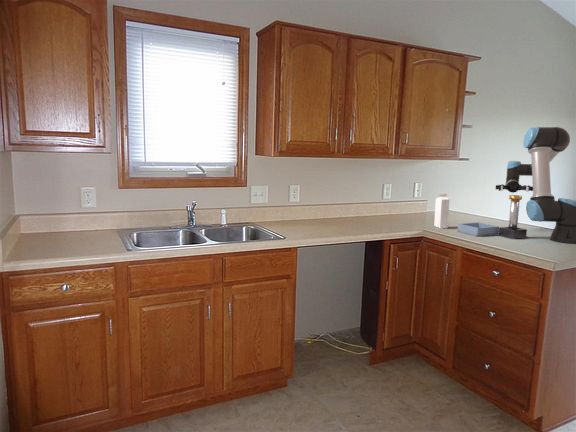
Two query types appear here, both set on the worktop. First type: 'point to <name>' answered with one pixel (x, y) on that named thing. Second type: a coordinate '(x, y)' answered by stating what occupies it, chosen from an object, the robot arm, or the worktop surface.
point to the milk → (441, 211)
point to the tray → (478, 229)
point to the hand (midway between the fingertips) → (514, 189)
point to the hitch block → (512, 233)
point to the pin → (514, 211)
